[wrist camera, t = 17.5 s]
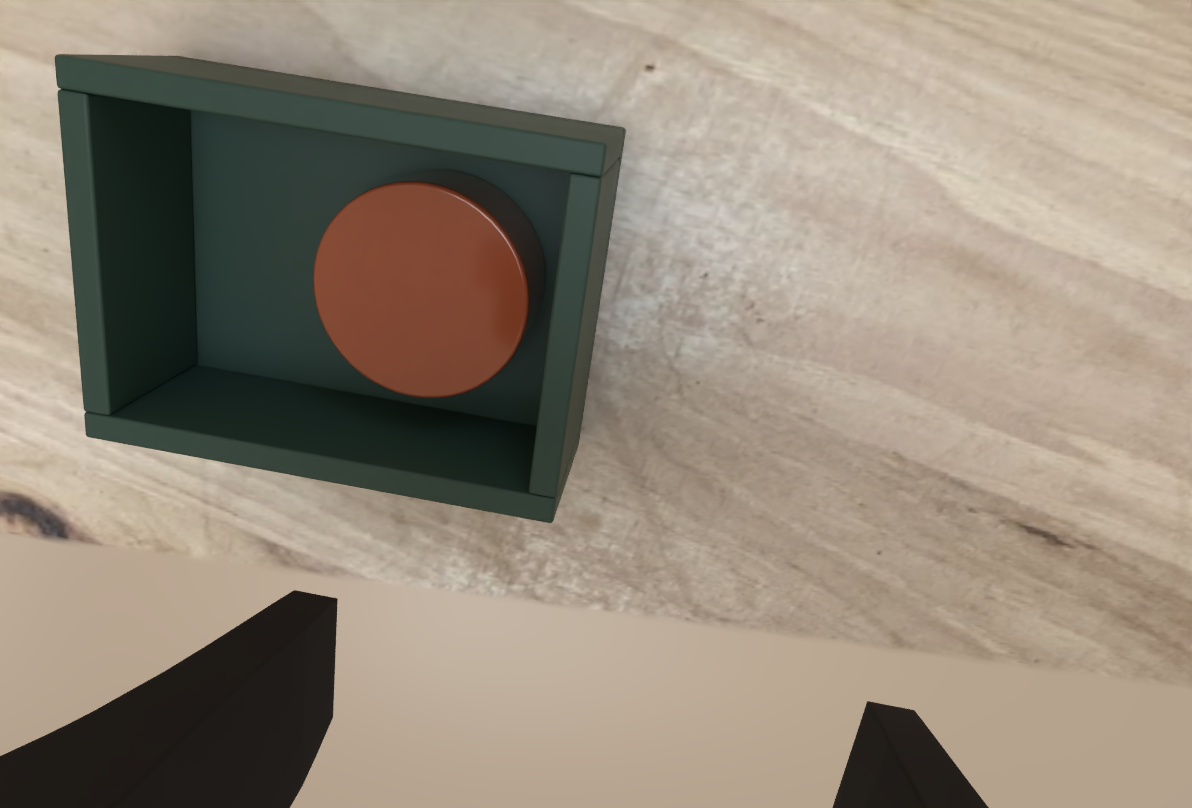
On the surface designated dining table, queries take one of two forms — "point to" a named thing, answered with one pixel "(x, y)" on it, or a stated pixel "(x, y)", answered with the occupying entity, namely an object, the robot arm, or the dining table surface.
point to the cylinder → (429, 282)
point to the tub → (285, 275)
